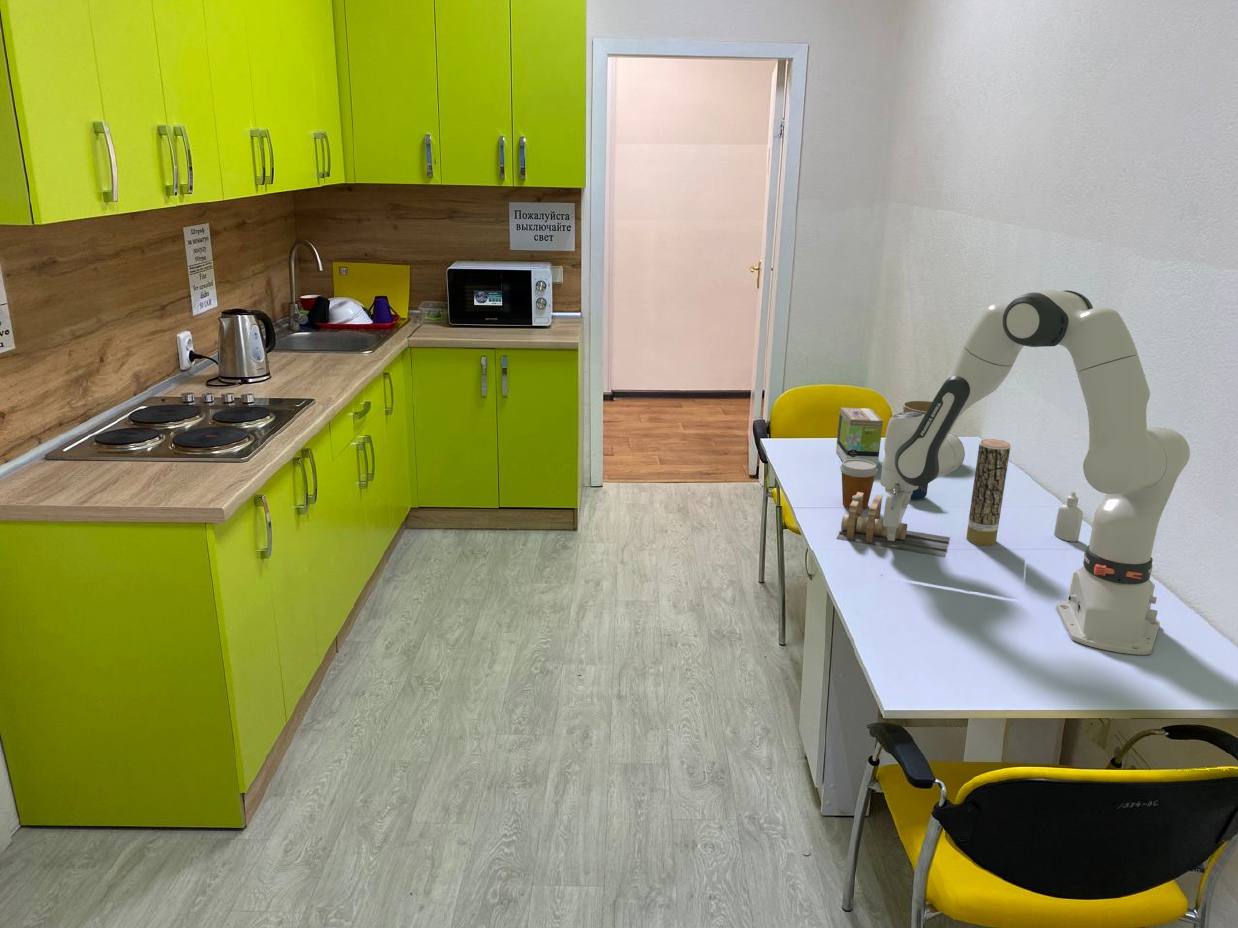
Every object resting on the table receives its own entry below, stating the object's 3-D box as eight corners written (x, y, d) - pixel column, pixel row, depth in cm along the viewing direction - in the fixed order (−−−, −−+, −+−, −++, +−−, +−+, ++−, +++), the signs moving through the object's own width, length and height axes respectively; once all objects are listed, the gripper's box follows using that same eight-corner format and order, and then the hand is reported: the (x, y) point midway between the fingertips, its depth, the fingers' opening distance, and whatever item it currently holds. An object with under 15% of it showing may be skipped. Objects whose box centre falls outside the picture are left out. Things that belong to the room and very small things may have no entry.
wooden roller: (905, 537, 231) (907, 522, 230) (903, 542, 228) (905, 526, 227) (843, 527, 237) (845, 512, 236) (840, 532, 233) (842, 516, 232)
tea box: (878, 468, 284) (884, 420, 280) (845, 467, 284) (849, 419, 280) (867, 452, 298) (871, 407, 294) (834, 452, 298) (839, 406, 294)
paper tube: (997, 549, 227) (1013, 448, 219) (967, 546, 228) (982, 446, 220) (993, 538, 233) (1007, 440, 225) (964, 535, 234) (977, 438, 226)
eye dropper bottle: (1068, 533, 237) (1076, 488, 233) (1080, 542, 231) (1088, 496, 228) (1051, 533, 236) (1059, 488, 233) (1062, 542, 231) (1070, 496, 227)
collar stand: (944, 559, 220) (949, 520, 217) (835, 541, 230) (839, 503, 227) (949, 539, 232) (954, 502, 229) (846, 523, 241) (849, 486, 238)
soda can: (925, 502, 256) (931, 460, 252) (899, 499, 258) (903, 457, 254) (926, 494, 262) (931, 452, 259) (900, 491, 264) (905, 450, 261)
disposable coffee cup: (859, 516, 246) (863, 472, 242) (829, 506, 252) (833, 463, 249) (880, 508, 252) (885, 465, 248) (850, 498, 258) (854, 456, 255)
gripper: (908, 493, 215) (901, 550, 220) (919, 468, 233) (912, 520, 238) (879, 489, 218) (873, 545, 222) (892, 464, 236) (886, 516, 240)
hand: (894, 532), depth 230 cm, fingers open, 8 cm apart
